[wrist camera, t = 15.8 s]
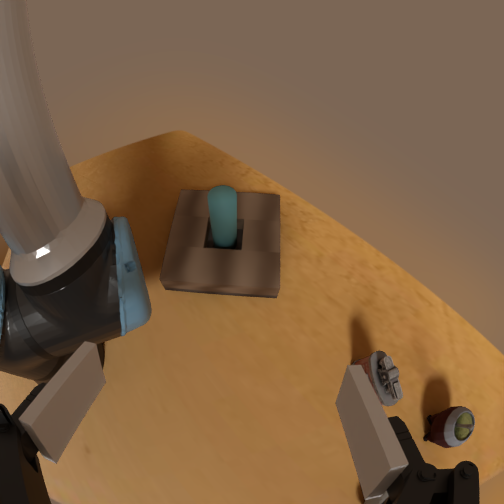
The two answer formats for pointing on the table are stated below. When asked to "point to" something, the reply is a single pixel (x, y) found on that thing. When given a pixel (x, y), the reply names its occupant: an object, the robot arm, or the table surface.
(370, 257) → the table surface
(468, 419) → the mate gourd
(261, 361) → the table surface
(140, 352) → the table surface
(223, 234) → the pin
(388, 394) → the lighter
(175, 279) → the hole board
